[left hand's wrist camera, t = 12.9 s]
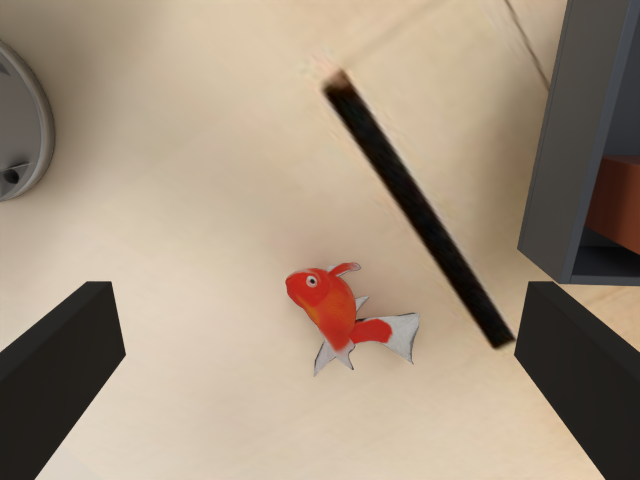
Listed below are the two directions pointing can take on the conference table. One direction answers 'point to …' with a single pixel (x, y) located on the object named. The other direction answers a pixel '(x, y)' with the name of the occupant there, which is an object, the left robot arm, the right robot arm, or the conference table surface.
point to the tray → (585, 143)
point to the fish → (346, 316)
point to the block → (617, 201)
